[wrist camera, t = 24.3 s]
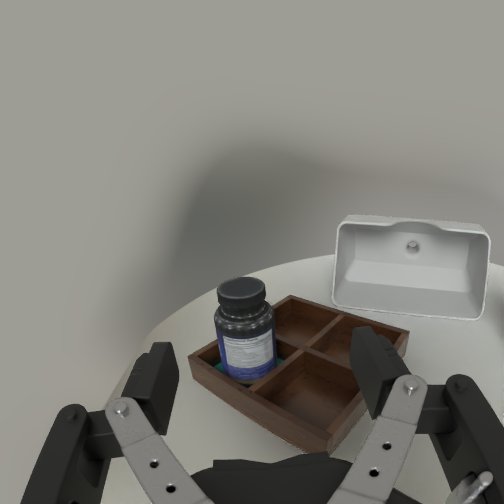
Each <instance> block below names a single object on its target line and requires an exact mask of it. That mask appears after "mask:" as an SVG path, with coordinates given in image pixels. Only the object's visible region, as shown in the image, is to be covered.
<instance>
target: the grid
mask: <svg viewBox="0 0 504 504" xmlns="http://www.w3.org/2000/svg"><path fill="white" fill-rule="evenodd" d="M272 308H273V310H274V316H275V336H276V353H277V367H276V368H274V369H273V370H272V371H271V372H269V373H268V374H267V375H265V376H264V377H263V378H261V379H260V380H259V381H257V382H256V383H255V384H253V385H252V386H251V387H249V388H246V387H244V386H242V385H241V384H239V383H237V382H236V381H234V380H233V379H231V378H229V377H228V376H226V375H225V374H224V371H223V366H222V361H221V355H220V350H219V345H218V339H216V340H215V341H213V342H211V343H210V344H208V345H206V346H204V347H203V348H201V349H199V350H197V351H196V352H194V353H193V354H191V355H189V356H188V361H189V364H190V368H191V372H192V375H193V379H194V380H196V381H197V382H198V383H200V384H201V385H202V386H204V387H205V388H207V389H208V390H209V391H211V392H212V393H213V394H215V395H216V396H218V397H219V398H221V399H222V400H223V401H225V402H226V403H228V404H229V405H231V406H232V407H234V408H235V409H237V410H238V411H240V412H241V413H243V414H244V415H246V416H247V417H249V418H250V419H252V420H253V421H255V422H256V423H258V424H260V425H261V426H263V427H264V428H266V429H268V430H269V431H271V432H272V433H274V434H276V435H277V436H279V437H281V438H282V439H284V440H286V441H288V442H289V443H291V444H293V445H294V446H296V447H298V448H300V449H302V450H303V451H305V452H307V453H309V454H310V453H317V452H324V451H328V454H329V456H330V455H331V454H332V452H333V451H334V450H335V449H336V448H337V447H338V445H339V444H340V443H341V442H342V441H343V439H344V438H345V437H346V436H347V435H348V433H349V432H350V431H351V430H352V428H353V427H354V426H355V425H356V423H357V422H358V421H359V420H360V418H361V417H362V416H363V414H364V413H365V412H366V410H367V409H368V408H367V405H366V403H365V400H364V398H363V395H362V393H361V390H360V388H359V386H358V383H357V381H356V378H355V376H354V374H353V371H352V369H351V365H350V348H351V339H352V331H353V328H357V327H363V326H371V328H372V329H373V331H374V333H375V334H376V336H377V335H383V336H384V337H386V338H387V339H389V340H390V341H391V343H392V344H393V346H394V348H395V349H396V351H397V352H398V355H400V357H401V359H402V358H403V356H404V355H405V352H406V347H407V343H408V338H409V333H410V331H407V330H404V329H400V328H397V327H393V326H390V325H386V324H383V323H380V322H376V321H373V320H370V319H366V318H363V317H360V316H357V315H353V314H350V313H347V312H343V311H340V310H337V309H334V308H331V307H327V306H324V305H321V304H318V303H315V302H311V301H308V300H305V299H302V298H299V297H296V296H293V295H289V296H287V297H286V298H284V299H283V300H281V301H279V302H278V303H276V304H275V305H273V306H272Z"/></svg>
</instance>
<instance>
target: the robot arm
mask: <svg viewBox="0 0 504 504" xmlns="http://www.w3.org/2000/svg"><path fill="white" fill-rule="evenodd" d="M350 365H351V369H352V371H353V374H354V376H355V378H356V381H357V383H358V386H359V388H360V390H361V393H362V395H363V398H364V400H365V403H366V405H367V408H368V410H369V413H370V415H371V418H372V420H373V419H376V421H375V423H374V425H373V427H372V429H371V431H370V433H369V435H368V437H367V439H366V441H365V443H364V445H363V447H362V449H361V450H360V452H359V454H358V456H357V458H356V459H355V461H354V463H351V462H348V461H345V460H341V459H335V458H329V454H328V451H324V452H317V453H310V454H302V455H298V456H295V457H292V458H289V459H285V460H282V461H279V462H275V463H262V462H255V461H248V460H242V459H237V460H213V467H212V468H207V469H204V470H201V471H199V472H196V473H195V474H193V475H191V476H190V475H189V474H188V473H187V472H186V470H185V469H184V468H183V466H182V465H181V464H180V463H179V461H178V460H177V459H176V457H175V456H174V454H173V453H172V452H171V450H170V449H169V448H168V446H167V445H166V443H165V442H164V441H163V439H162V438H161V436H160V435H166V433H167V429H168V425H169V420H170V416H171V412H172V408H173V403H174V399H175V395H176V391H177V387H178V383H179V369H178V365H177V361H176V358H175V354H174V350H173V346H172V344H171V342H154V343H153V345H152V347H151V350H150V352H149V353H143V354H142V355H141V356H140V357H139V358H138V359H137V360H136V362H135V365H134V367H133V370H132V371H131V374H130V376H129V378H128V381H127V383H126V385H125V388H124V390H123V392H122V395H121V397H120V398H117V399H114V400H112V401H111V402H110V403H109V404H108V405H107V406H106V409H105V410H102V411H96V412H87V411H86V409H85V408H84V407H83V406H82V405H79V404H71V405H68V406H65V407H64V408H62V410H60V412H59V413H58V415H57V417H56V419H55V421H54V424H53V426H52V428H51V430H50V432H49V434H48V437H47V439H46V441H45V443H44V446H43V448H42V450H41V453H40V455H39V457H38V459H37V462H36V465H35V467H34V469H33V472H32V474H31V477H30V479H29V482H28V485H27V487H26V490H25V492H24V495H23V498H22V501H21V503H20V504H100V502H101V498H102V494H103V489H104V485H105V481H106V477H107V473H108V469H109V465H110V461H111V458H116V457H123V456H125V458H126V460H127V461H128V463H129V465H130V467H131V469H132V470H133V472H134V474H135V476H136V477H137V479H138V481H139V483H140V484H141V486H142V487H143V489H144V491H145V492H146V494H147V496H148V497H149V499H150V500H151V502H152V503H153V504H421V503H420V502H418V501H416V500H414V499H412V498H411V497H409V496H407V495H405V494H404V493H402V492H400V491H398V490H397V489H395V488H393V486H394V484H395V482H396V480H397V478H398V475H399V473H400V471H401V468H402V466H403V463H404V461H405V458H406V456H407V453H408V451H409V448H410V445H411V443H412V440H413V437H414V434H429V436H430V439H431V441H432V443H433V446H434V448H435V451H436V453H437V455H438V458H439V460H440V463H441V465H442V468H443V470H444V473H445V476H446V478H447V481H448V483H449V486H450V489H451V494H450V495H449V496H448V498H447V500H446V504H504V427H503V425H502V424H501V422H500V420H499V419H498V417H497V416H496V414H495V412H494V411H493V409H492V408H491V406H490V404H489V403H488V401H487V400H486V398H485V397H484V395H483V394H482V392H481V391H480V389H479V388H478V386H477V385H476V383H475V382H474V381H473V379H471V378H470V377H468V376H466V375H462V374H456V375H453V376H451V377H449V378H448V380H447V381H446V384H445V385H427V383H426V382H425V381H424V380H423V379H422V378H421V377H419V376H416V375H411V373H410V371H409V370H408V368H407V367H406V365H405V363H404V362H403V360H402V359H401V357H400V355H398V352H397V351H396V349H395V348H394V346H393V344H392V343H391V341H390V340H389V339H387V338H386V337H384V336H383V335H377V336H376V334H375V333H374V331H373V329H372V328H371V326H363V327H357V328H353V331H352V339H351V348H350Z"/></svg>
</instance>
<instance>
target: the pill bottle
mask: <svg viewBox="0 0 504 504" xmlns="http://www.w3.org/2000/svg"><path fill="white" fill-rule="evenodd" d="M217 295H218V302H219V304H220V306H219V307H218V309H217V310H216V312H215V315H214V321H215V327H216V333H217V338H218V345H219V350H220V355H221V361H222V366H223V371H224V374H225V375H226V376H228V377H229V378H231V379H233V380H234V381H236V382H237V383H239V384H241V385H242V386H244V387H246V388H249V387H251V386H252V385H253V384H255V383H256V382H257V381H259V380H260V379H261V378H263V377H264V376H265V375H267V374H268V373H269V372H271V371H272V370H273V369H274V368H276V367H277V353H276V336H275V316H274V310H273V308H272V306H271V305H270V304H269V303H268V302H267V301H265V300H264V299H265V296H266V291H265V284H264V283H263V282H262V281H261V280H259V279H257V278H253V277H237V278H232V279H229V280H226V281H224V282H223V283H221V284H220V285H219V286H218V288H217Z"/></svg>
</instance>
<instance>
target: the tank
mask: <svg viewBox="0 0 504 504" xmlns="http://www.w3.org/2000/svg"><path fill="white" fill-rule="evenodd" d="M411 242H415V243H416V244H417V245H416V246H415V247H410V246H409V245H408V244H409V243H411ZM490 243H491V242H490V238H489V236H488V235H487V233H486V232H485V231H484V229H483V228H482V227H481V226H480V225H478V224H472V223H462V222H451V221H439V220H438V221H437V220H427V219H414V218H400V217H385V216H369V215H348V216H346V217H345V218H344V220H343V221H342V222H341V223H340V225H339V226H338V228H337V238H336V251H335V263H334V275H333V285H332V295H331V298H332V301H333V303H334V304H335V305H336V306H338V307H344V308H352V309H361V310H369V311H378V312H387V313H396V314H405V315H415V316H425V317H436V318H447V319H459V320H471V321H475V320H478V319H479V318H480V317H481V316H482V314H483V311H484V305H485V298H486V290H487V282H488V272H489V260H490Z"/></svg>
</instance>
